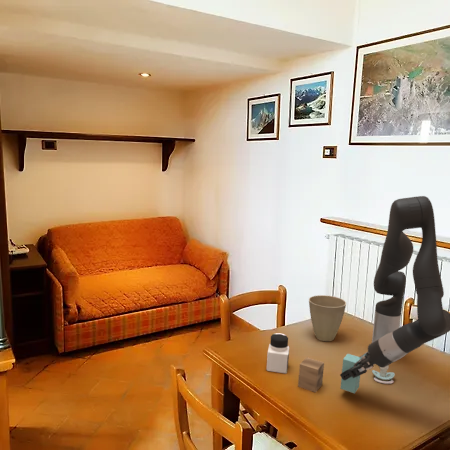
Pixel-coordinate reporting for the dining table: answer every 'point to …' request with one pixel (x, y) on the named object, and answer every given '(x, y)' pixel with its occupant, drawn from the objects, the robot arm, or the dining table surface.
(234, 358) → the dining table surface
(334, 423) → the dining table surface
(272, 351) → the medicine bottle
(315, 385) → the tower base slab
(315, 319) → the plant pot
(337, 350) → the dining table surface
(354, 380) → the pillar
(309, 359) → the tower upper slab
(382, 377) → the pacifier
